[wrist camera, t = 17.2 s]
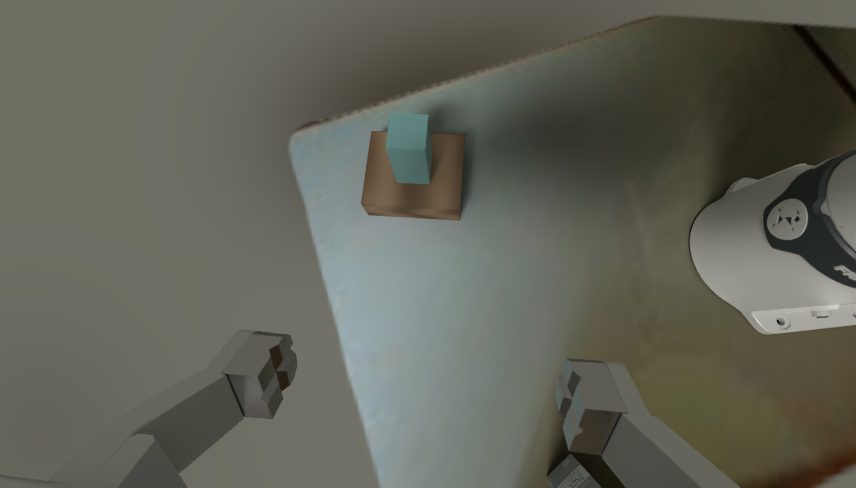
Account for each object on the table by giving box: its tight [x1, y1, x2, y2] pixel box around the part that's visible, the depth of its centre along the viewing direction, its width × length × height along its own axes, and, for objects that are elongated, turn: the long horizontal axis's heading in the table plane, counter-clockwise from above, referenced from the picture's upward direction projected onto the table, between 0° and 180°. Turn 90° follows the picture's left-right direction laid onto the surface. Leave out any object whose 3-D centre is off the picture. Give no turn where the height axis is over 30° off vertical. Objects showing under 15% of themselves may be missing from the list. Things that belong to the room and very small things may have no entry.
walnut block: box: [361, 131, 465, 220], centre depth 44 cm, size 12×10×4 cm
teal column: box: [385, 113, 432, 184], centre depth 38 cm, size 4×4×8 cm
